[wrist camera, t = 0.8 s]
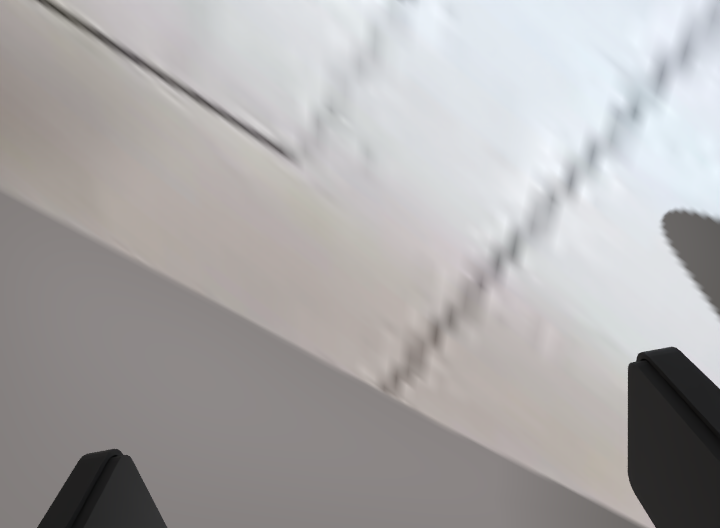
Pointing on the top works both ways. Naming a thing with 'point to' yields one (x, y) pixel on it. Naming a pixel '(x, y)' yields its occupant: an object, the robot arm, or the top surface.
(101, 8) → the top surface
